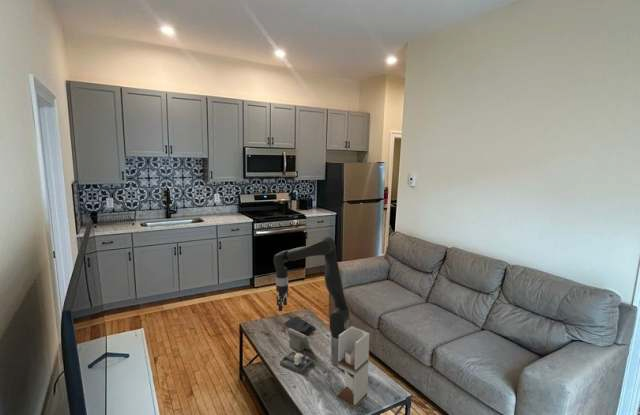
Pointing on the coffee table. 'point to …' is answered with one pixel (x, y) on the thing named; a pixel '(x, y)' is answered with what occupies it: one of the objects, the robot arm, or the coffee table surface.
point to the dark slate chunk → (299, 325)
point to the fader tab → (297, 359)
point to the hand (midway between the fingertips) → (282, 307)
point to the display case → (354, 365)
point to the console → (301, 368)
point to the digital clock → (298, 340)
